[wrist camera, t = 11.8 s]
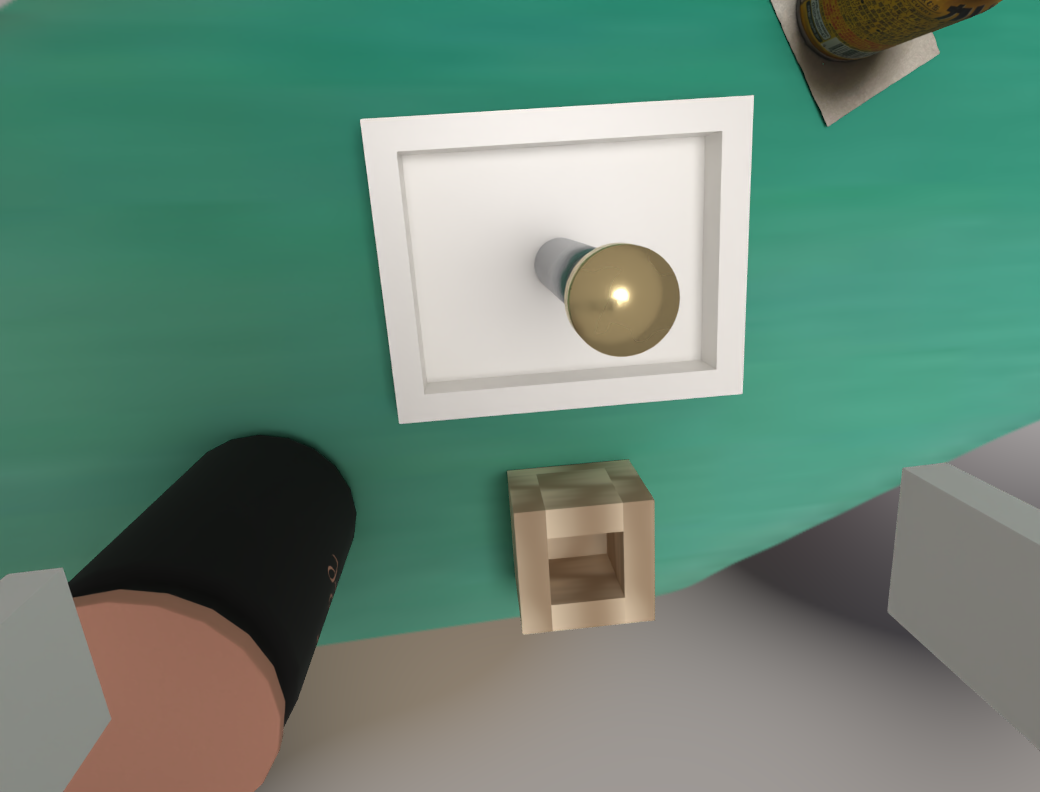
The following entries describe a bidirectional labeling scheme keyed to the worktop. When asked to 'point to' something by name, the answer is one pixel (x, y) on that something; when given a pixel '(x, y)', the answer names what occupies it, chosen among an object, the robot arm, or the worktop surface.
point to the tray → (547, 215)
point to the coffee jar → (212, 618)
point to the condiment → (864, 43)
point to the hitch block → (582, 546)
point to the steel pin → (611, 293)
